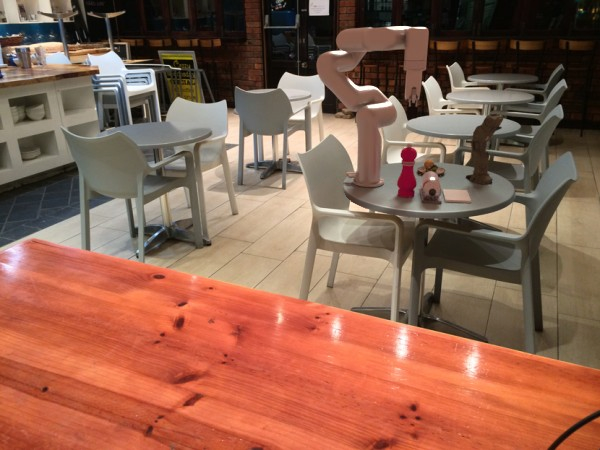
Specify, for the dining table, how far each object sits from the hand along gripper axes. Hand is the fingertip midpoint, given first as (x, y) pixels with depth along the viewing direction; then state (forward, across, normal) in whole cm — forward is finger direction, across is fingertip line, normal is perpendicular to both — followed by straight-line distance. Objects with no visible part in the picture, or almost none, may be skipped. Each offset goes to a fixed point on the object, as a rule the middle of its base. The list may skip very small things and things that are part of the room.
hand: (411, 115), depth 176 cm
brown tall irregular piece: (+30, -21, +30) cm, 47 cm away
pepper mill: (+30, 0, 0) cm, 30 cm away
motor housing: (+30, 0, +9) cm, 31 cm away
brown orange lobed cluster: (+31, -30, +11) cm, 44 cm away
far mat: (+30, 0, +18) cm, 35 cm away
